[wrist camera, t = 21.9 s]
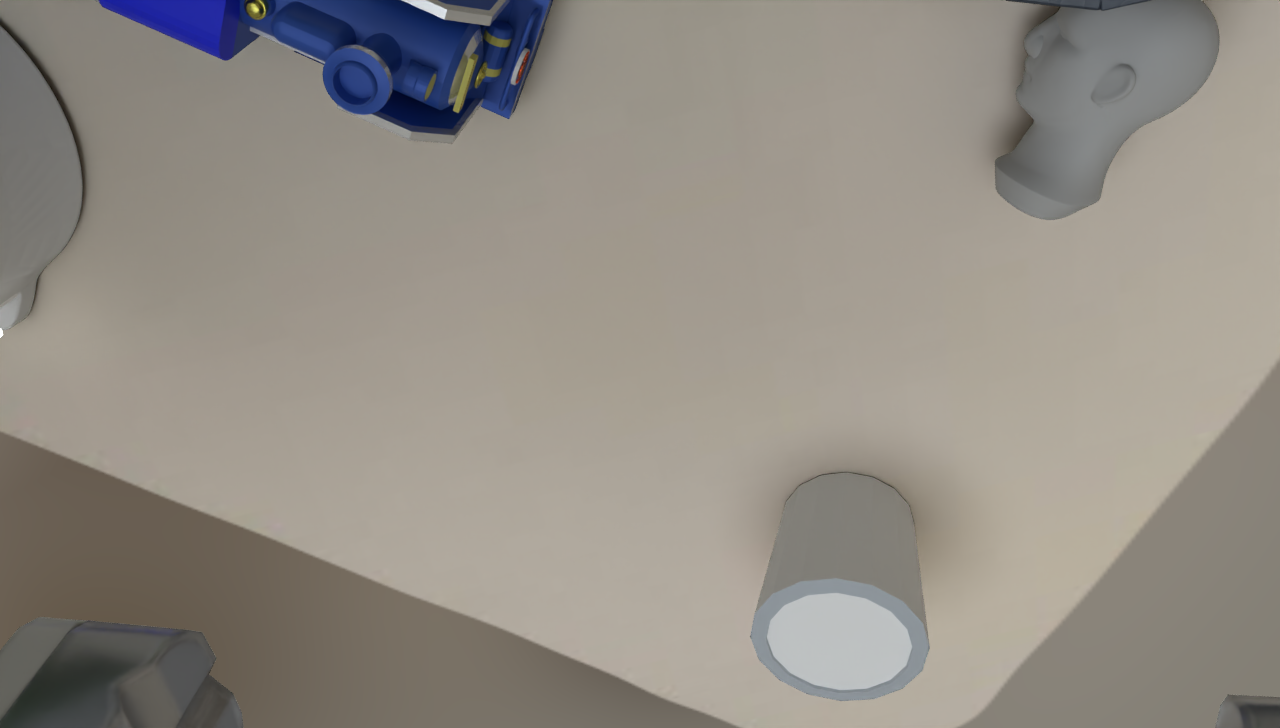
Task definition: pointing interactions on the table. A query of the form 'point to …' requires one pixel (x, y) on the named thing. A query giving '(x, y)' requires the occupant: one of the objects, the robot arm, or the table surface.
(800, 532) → the white cylinder
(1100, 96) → the grey rounded elongated piece
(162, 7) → the toy train
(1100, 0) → the tin
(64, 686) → the robot arm
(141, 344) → the table surface
